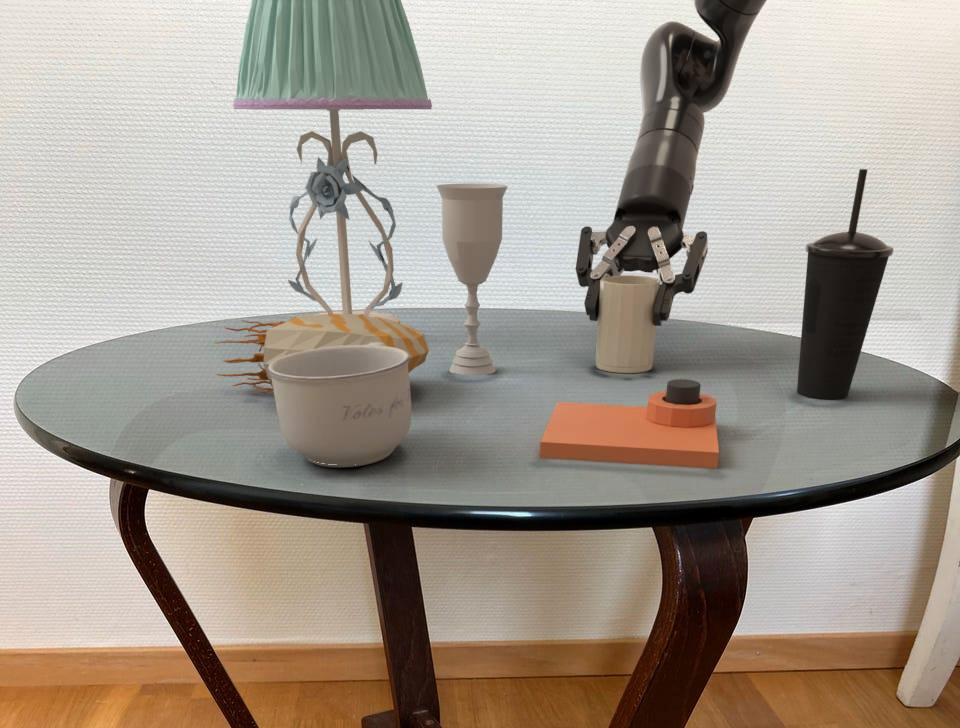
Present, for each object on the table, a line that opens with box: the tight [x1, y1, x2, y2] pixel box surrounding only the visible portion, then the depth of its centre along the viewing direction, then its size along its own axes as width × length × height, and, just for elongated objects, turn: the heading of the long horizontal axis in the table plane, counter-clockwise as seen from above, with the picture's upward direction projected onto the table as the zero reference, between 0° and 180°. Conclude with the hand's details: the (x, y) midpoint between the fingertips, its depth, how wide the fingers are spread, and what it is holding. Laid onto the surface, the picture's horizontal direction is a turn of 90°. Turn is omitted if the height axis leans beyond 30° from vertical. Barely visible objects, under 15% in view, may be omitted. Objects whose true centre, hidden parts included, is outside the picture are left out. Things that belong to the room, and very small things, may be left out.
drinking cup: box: [796, 168, 894, 401], centre depth 88 cm, size 8×8×20 cm
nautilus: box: [213, 313, 430, 396], centre depth 91 cm, size 8×22×15 cm
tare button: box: [665, 378, 702, 405], centre depth 80 cm, size 3×3×2 cm
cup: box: [595, 274, 661, 374], centre depth 101 cm, size 6×6×9 cm
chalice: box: [436, 182, 509, 376], centre depth 97 cm, size 7×7×18 cm
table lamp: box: [232, 0, 433, 323], centre depth 106 cm, size 22×22×40 cm
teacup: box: [268, 342, 412, 468], centre depth 75 cm, size 14×11×8 cm
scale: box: [539, 391, 720, 469], centre depth 79 cm, size 14×12×3 cm
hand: (624, 318), depth 99 cm, fingers closed on cup, 6 cm apart
